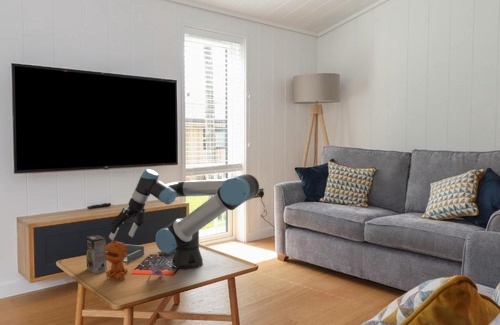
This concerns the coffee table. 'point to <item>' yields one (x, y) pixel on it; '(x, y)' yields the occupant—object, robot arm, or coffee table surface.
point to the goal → (133, 252)
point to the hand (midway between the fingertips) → (121, 237)
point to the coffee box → (96, 253)
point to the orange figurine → (116, 260)
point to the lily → (155, 271)
